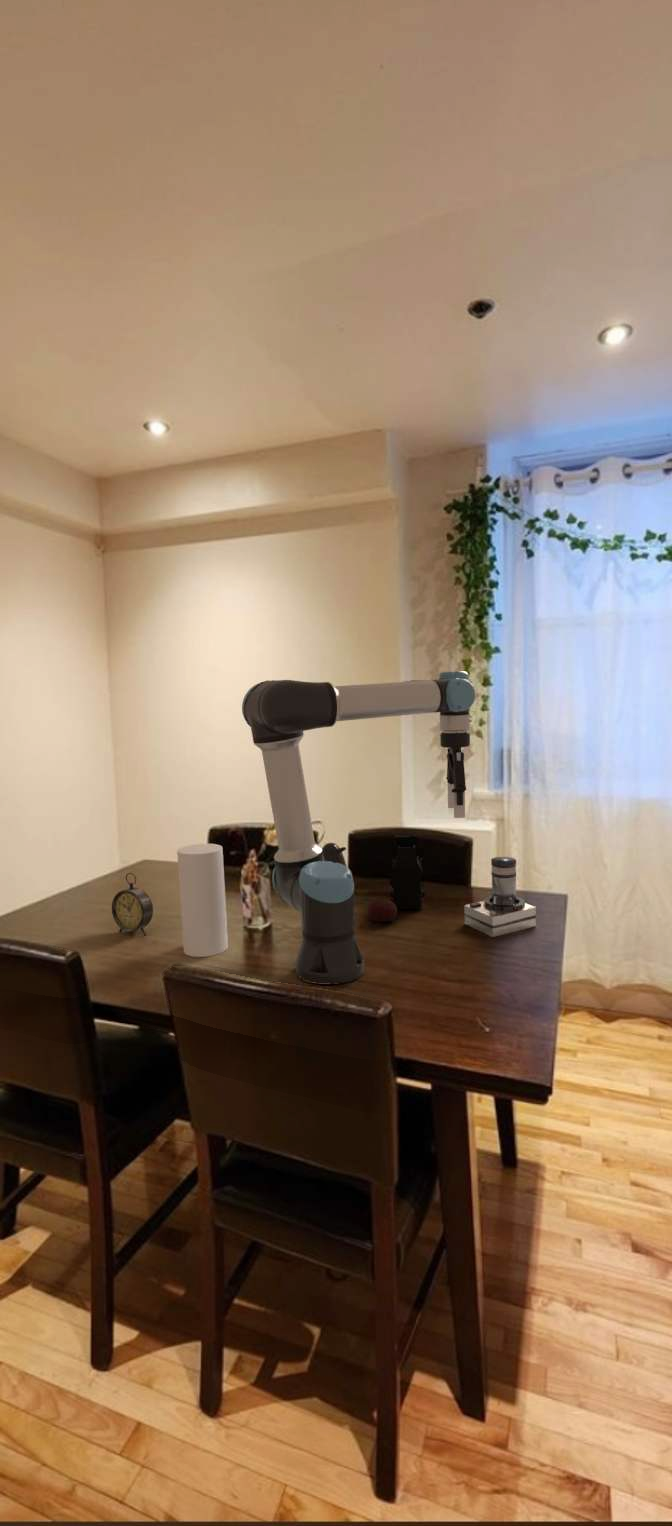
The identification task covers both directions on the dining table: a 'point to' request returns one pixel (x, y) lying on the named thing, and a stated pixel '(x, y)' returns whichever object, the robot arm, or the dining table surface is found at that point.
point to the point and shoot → (499, 916)
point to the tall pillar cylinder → (202, 899)
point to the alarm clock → (132, 908)
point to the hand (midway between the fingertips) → (456, 812)
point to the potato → (382, 910)
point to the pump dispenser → (333, 853)
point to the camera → (407, 874)
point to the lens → (503, 880)
